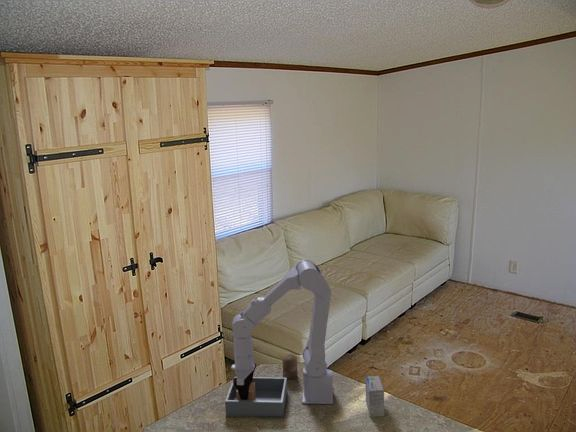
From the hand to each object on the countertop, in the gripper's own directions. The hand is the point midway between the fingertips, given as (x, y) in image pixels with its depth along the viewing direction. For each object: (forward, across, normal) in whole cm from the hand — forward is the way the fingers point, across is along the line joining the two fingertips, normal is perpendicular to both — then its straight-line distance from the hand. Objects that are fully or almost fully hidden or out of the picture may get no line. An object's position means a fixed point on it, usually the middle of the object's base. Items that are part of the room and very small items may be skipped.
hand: (246, 393), depth 142 cm
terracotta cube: (+3, 0, 0) cm, 3 cm away
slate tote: (+3, 0, +4) cm, 5 cm away
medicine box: (+4, +1, +39) cm, 40 cm away
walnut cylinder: (+4, -16, +12) cm, 20 cm away
